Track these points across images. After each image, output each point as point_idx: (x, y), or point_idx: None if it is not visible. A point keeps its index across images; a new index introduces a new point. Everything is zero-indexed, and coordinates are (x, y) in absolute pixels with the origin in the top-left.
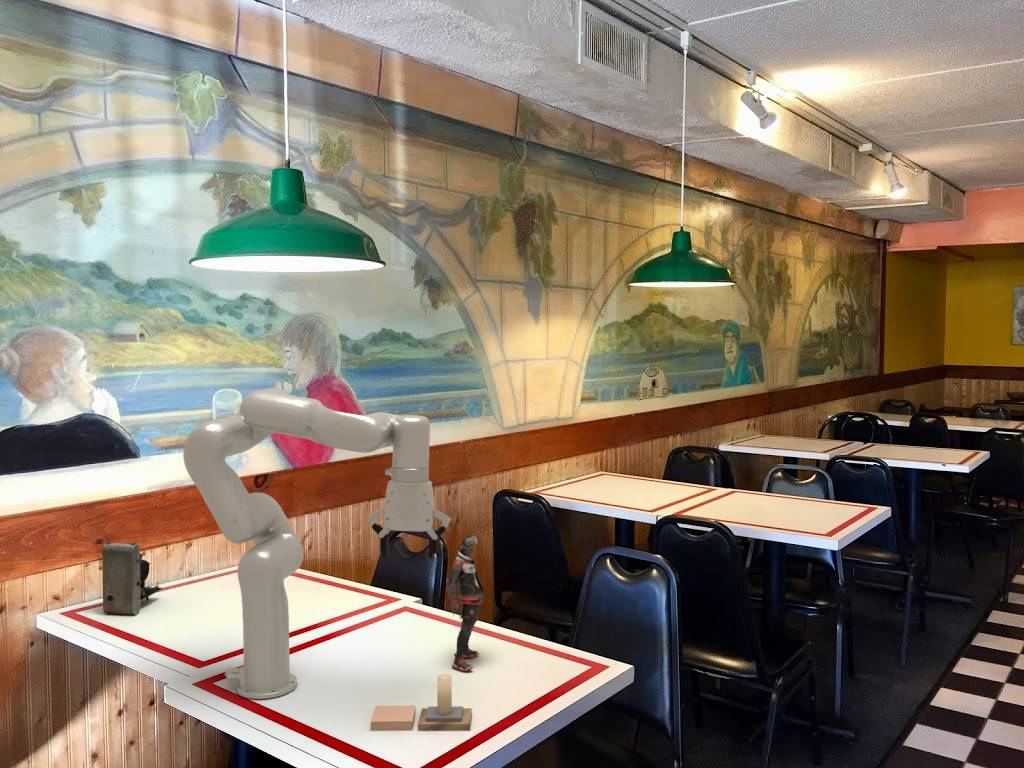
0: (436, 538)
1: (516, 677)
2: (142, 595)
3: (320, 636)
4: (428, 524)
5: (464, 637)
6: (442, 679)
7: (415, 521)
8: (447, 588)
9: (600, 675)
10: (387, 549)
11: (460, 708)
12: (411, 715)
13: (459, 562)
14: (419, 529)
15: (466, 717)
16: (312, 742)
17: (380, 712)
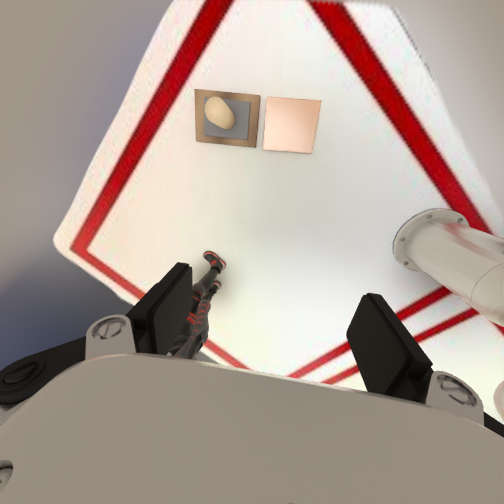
0: (105, 320)
1: (158, 234)
2: None
3: None
4: (36, 410)
5: (203, 279)
6: (218, 99)
7: (172, 486)
8: (207, 328)
9: (74, 228)
10: (361, 332)
11: (207, 128)
12: (268, 116)
13: None
14: (168, 366)
15: (200, 111)
16: (396, 70)
17: (306, 131)
